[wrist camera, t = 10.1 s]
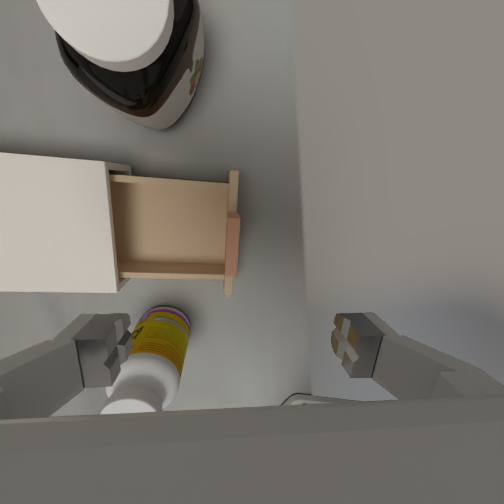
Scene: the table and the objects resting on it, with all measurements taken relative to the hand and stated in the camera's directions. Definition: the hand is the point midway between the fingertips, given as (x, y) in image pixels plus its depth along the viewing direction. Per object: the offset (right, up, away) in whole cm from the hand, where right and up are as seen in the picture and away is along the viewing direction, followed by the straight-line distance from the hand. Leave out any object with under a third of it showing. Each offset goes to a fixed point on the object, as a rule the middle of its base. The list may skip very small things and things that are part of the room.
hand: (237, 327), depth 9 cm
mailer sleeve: (-21, +7, +16) cm, 27 cm away
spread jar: (-10, +22, +13) cm, 27 cm away
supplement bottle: (-11, -7, +22) cm, 26 cm away
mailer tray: (-10, +6, +18) cm, 21 cm away
